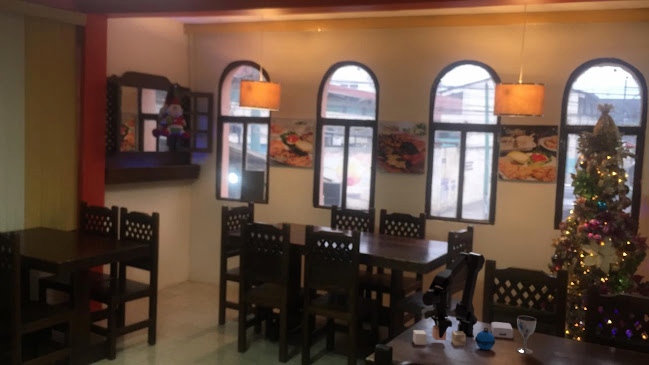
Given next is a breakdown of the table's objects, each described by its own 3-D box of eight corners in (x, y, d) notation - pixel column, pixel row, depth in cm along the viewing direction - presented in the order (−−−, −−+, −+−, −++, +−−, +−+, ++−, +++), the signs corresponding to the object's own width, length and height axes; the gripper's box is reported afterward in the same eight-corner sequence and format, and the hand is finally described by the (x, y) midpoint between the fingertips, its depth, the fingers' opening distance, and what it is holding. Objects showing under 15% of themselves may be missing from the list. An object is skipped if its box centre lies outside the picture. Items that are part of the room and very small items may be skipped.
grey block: (423, 340, 280) (424, 330, 280) (426, 344, 275) (426, 334, 275) (412, 340, 280) (413, 330, 279) (415, 344, 275) (415, 333, 274)
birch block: (461, 341, 281) (462, 331, 281) (465, 345, 276) (465, 334, 276) (451, 341, 281) (451, 331, 281) (454, 345, 276) (454, 334, 276)
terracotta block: (443, 336, 280) (443, 325, 280) (445, 340, 275) (446, 329, 275) (432, 335, 280) (432, 325, 280) (434, 339, 275) (435, 329, 275)
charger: (508, 328, 304) (512, 338, 289) (489, 326, 305) (492, 336, 290) (509, 319, 303) (513, 329, 288) (490, 317, 305) (493, 327, 290)
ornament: (494, 347, 275) (495, 326, 274) (494, 354, 267) (495, 331, 266) (474, 344, 278) (476, 323, 277) (474, 351, 269) (475, 329, 268)
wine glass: (533, 349, 275) (536, 317, 274) (533, 355, 267) (536, 322, 266) (515, 346, 278) (517, 314, 276) (514, 352, 270) (517, 319, 269)
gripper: (419, 296, 285) (417, 328, 286) (428, 308, 266) (426, 342, 268) (442, 296, 286) (440, 329, 287) (453, 308, 267) (451, 343, 269)
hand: (439, 335), depth 278 cm, fingers closed on terracotta block, 5 cm apart
